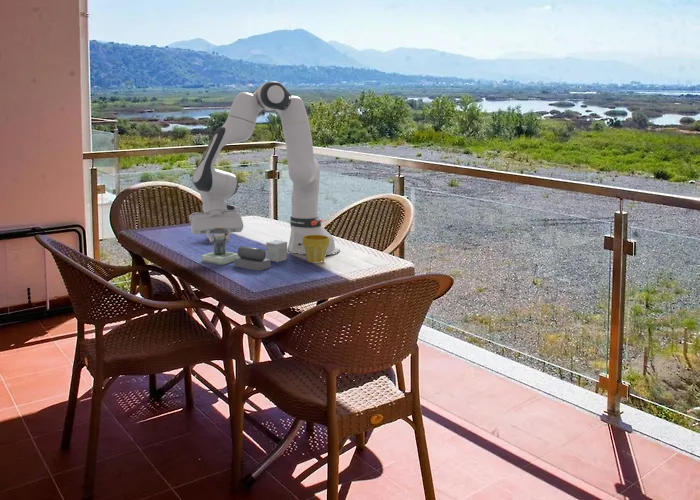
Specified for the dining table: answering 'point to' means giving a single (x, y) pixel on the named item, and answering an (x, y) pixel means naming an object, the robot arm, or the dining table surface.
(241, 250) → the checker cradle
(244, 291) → the dining table surface
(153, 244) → the dining table surface
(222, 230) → the battery cell
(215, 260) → the tray
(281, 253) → the product box
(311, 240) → the plant pot
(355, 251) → the dining table surface
